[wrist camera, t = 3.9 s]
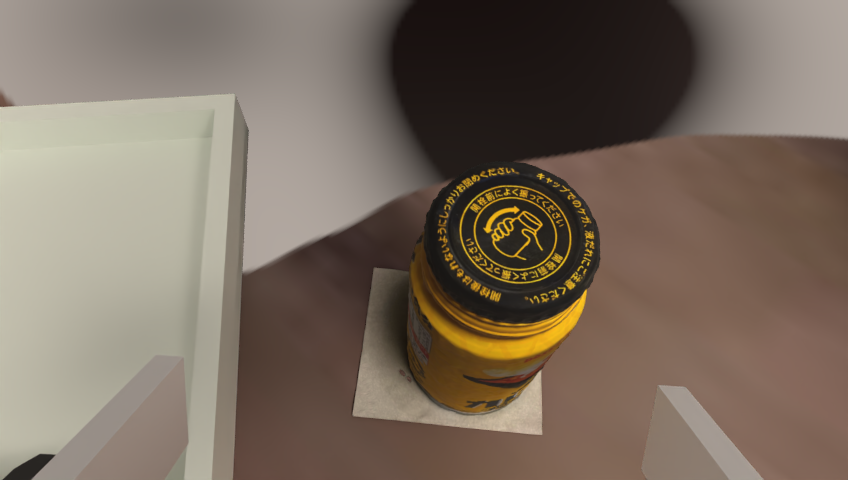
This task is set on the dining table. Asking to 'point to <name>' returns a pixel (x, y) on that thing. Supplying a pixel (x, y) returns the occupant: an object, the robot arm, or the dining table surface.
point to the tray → (120, 266)
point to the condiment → (479, 303)
